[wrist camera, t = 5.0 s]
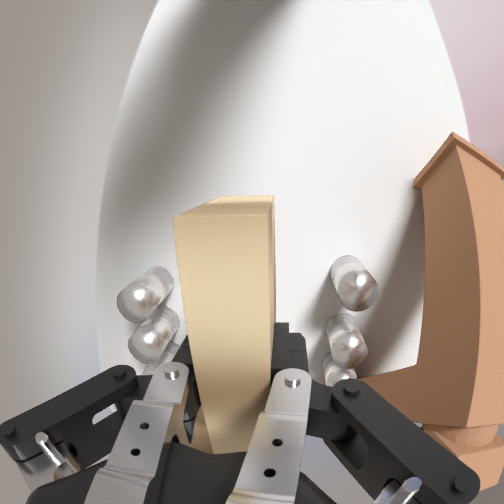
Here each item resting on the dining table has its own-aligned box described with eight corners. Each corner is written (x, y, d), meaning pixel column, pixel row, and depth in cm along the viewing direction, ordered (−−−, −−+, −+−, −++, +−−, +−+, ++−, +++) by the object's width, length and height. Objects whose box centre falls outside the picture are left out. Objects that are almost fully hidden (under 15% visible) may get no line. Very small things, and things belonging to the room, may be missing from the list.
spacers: (142, 256, 27) (111, 277, 22) (363, 255, 25) (384, 278, 19) (163, 365, 31) (144, 397, 25) (348, 371, 29) (358, 407, 23)
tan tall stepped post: (351, 249, 38) (308, 436, 27) (452, 131, 17) (439, 507, 6) (393, 264, 37) (360, 442, 27) (505, 168, 16) (506, 483, 6)
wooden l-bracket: (107, 205, 14) (27, 229, 8) (277, 194, 13) (273, 215, 7) (152, 401, 18) (120, 462, 12) (277, 414, 17) (272, 488, 11)
